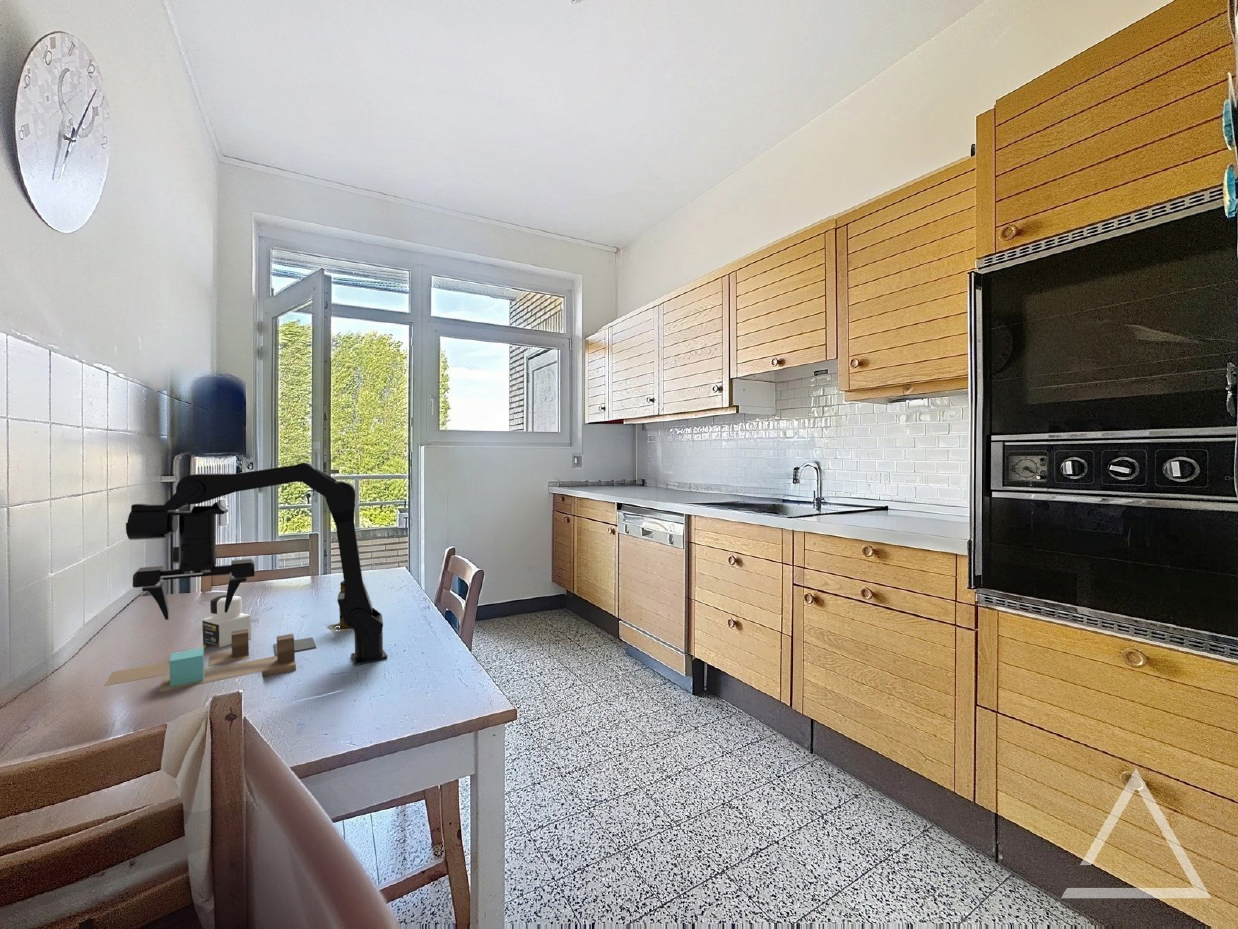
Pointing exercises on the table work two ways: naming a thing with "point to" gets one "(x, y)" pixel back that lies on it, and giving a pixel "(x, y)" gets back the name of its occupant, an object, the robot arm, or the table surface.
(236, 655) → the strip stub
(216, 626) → the medicine bottle
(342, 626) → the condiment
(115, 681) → the board
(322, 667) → the table surface
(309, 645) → the coaster
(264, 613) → the table surface
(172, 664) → the cube
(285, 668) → the strip
